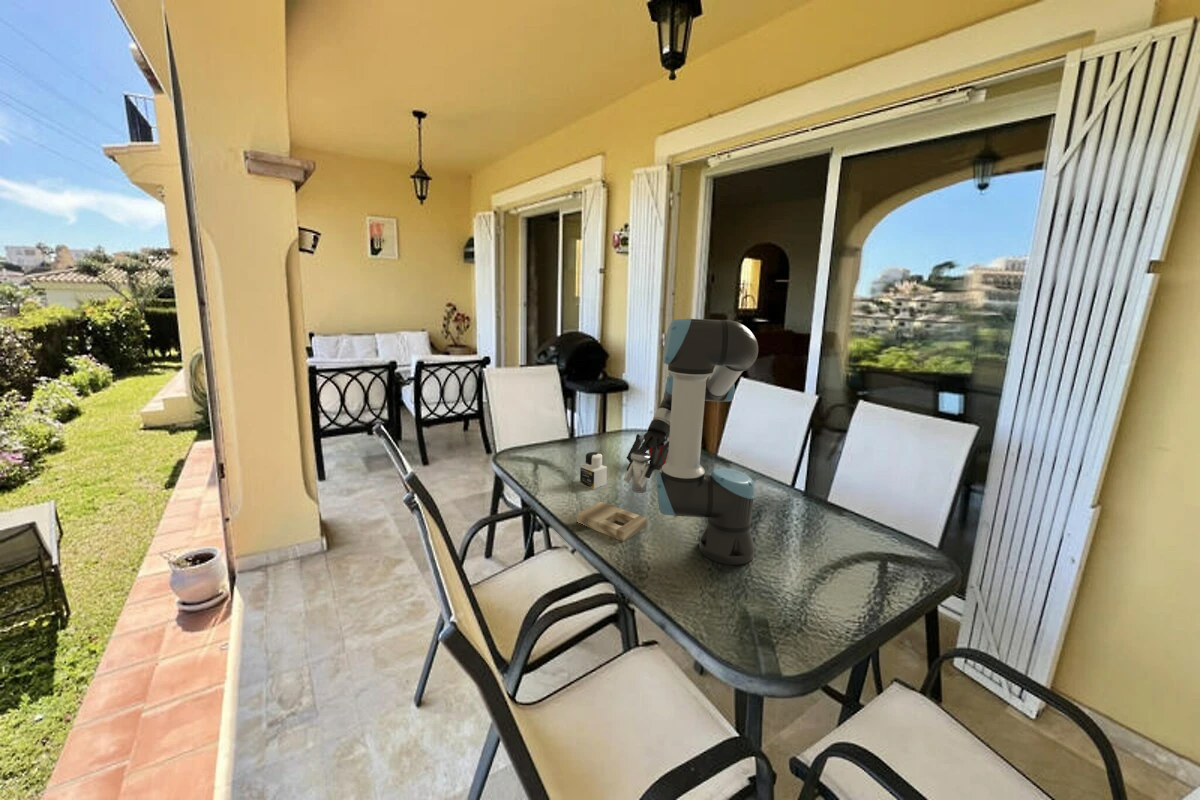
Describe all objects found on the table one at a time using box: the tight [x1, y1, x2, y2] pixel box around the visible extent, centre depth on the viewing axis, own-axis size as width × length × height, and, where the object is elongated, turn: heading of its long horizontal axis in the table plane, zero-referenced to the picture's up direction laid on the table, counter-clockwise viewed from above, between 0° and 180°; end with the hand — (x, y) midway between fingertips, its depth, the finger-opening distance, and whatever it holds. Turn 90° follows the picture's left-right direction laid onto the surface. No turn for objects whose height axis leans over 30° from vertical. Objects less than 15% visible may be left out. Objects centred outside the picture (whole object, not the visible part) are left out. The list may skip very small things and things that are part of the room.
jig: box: [576, 501, 648, 543], centre depth 154 cm, size 18×12×3 cm, turn 52°
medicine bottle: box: [579, 451, 608, 490], centre depth 184 cm, size 7×7×12 cm
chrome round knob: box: [631, 452, 651, 494], centre depth 164 cm, size 6×6×12 cm
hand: (633, 483), depth 161 cm, fingers closed on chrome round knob, 5 cm apart
